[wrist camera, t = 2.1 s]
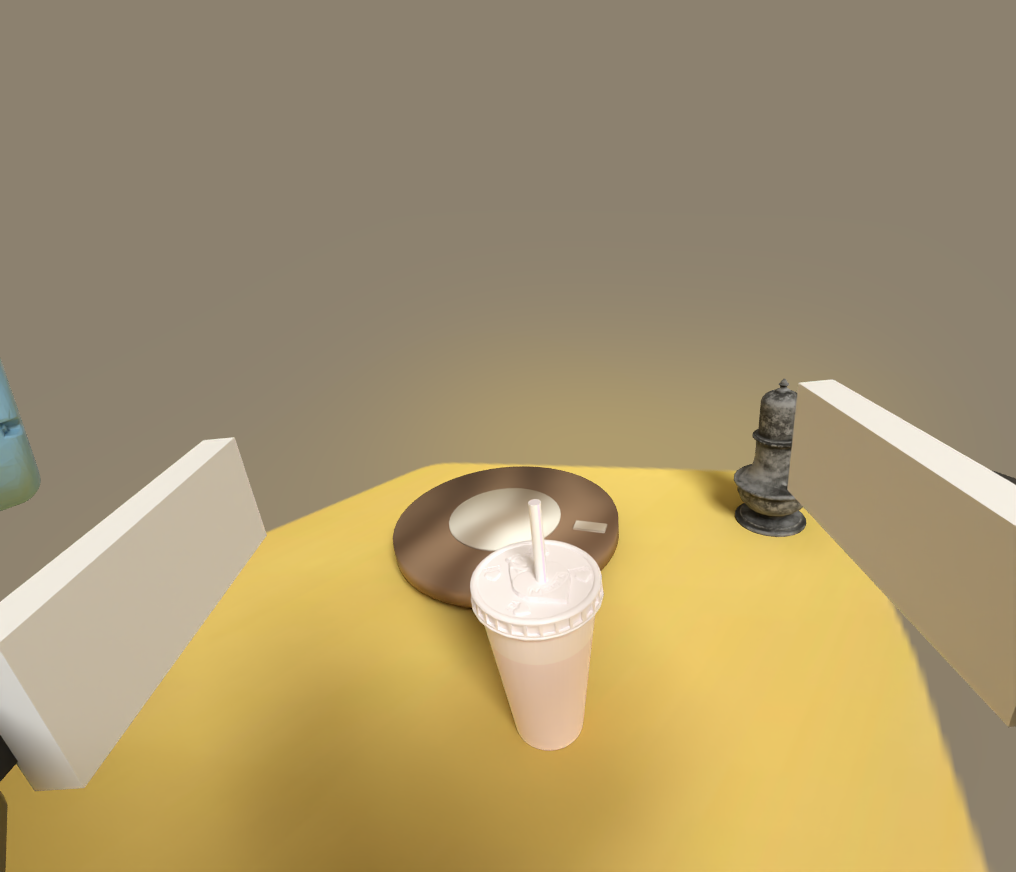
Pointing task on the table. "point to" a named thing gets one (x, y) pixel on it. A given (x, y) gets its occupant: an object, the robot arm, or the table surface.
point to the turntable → (497, 524)
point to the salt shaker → (771, 471)
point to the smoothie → (540, 630)
